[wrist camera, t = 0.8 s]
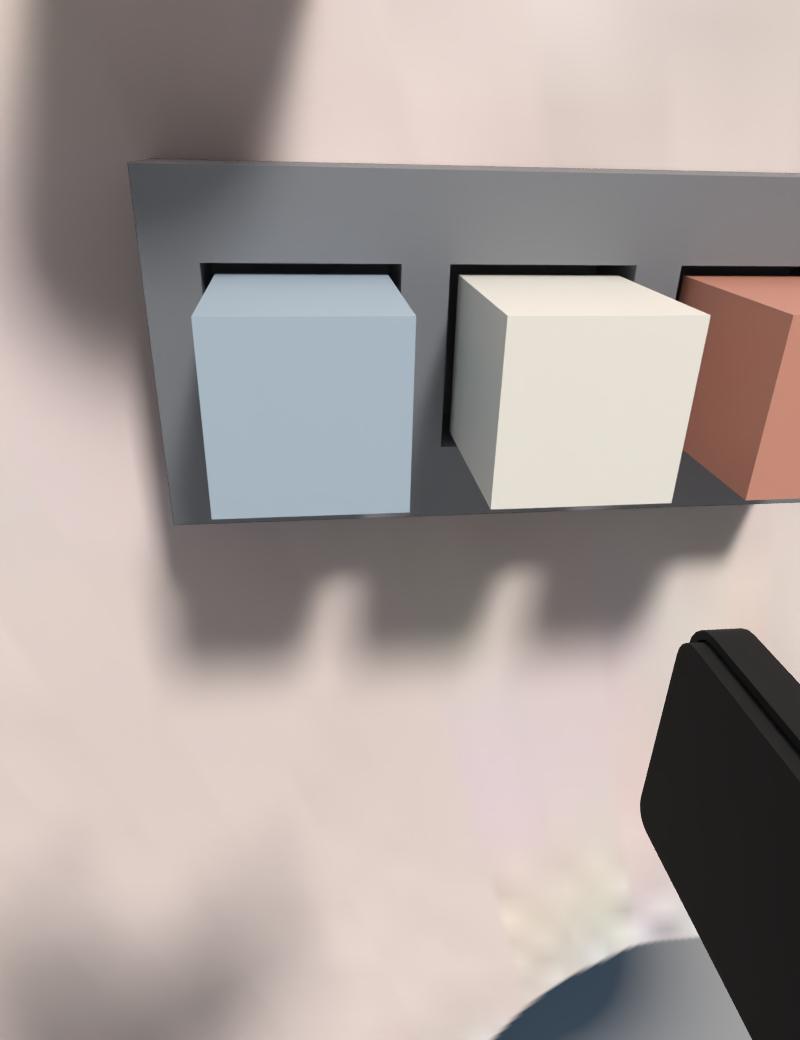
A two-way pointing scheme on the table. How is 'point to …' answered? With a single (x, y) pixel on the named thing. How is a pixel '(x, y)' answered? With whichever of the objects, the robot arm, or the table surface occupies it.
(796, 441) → the key brick
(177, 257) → the console
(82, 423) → the table surface
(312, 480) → the key blue
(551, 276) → the key ivory
